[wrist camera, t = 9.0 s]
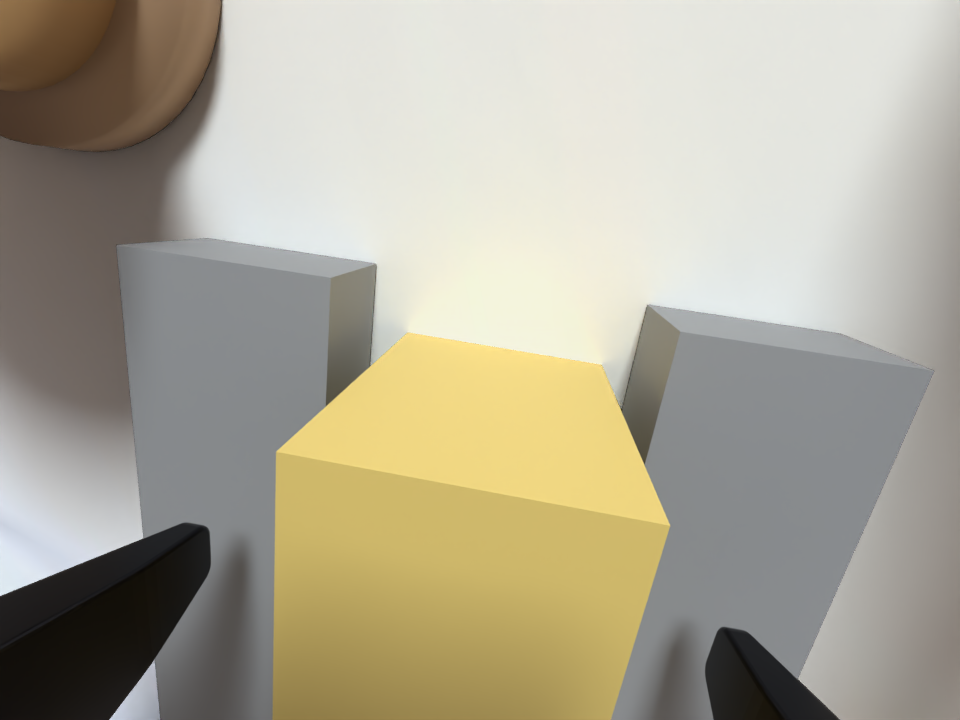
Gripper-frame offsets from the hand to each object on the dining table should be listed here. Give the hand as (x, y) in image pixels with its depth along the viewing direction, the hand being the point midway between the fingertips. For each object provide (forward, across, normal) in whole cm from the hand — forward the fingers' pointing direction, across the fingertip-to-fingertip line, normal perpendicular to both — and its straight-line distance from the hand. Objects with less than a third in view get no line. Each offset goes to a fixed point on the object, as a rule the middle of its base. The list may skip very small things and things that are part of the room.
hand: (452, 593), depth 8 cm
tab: (+4, 0, 0) cm, 4 cm away
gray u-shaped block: (+4, 0, +1) cm, 4 cm away
